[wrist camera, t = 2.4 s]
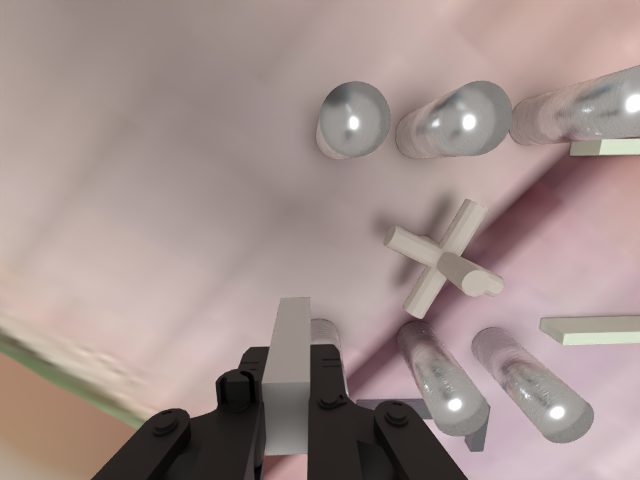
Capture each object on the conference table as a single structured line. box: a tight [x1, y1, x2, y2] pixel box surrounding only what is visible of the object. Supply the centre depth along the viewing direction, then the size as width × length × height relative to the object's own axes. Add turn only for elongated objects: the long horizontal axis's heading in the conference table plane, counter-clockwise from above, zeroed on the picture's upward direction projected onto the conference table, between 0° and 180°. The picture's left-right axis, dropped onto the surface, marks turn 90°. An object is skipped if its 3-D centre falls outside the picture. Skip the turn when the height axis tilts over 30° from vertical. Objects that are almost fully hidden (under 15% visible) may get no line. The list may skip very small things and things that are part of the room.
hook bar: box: [357, 399, 490, 452], centre depth 34 cm, size 14×6×1 cm, turn 90°
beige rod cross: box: [383, 199, 504, 319], centre depth 25 cm, size 10×10×10 cm
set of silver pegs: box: [310, 65, 640, 443], centre depth 25 cm, size 26×23×10 cm
